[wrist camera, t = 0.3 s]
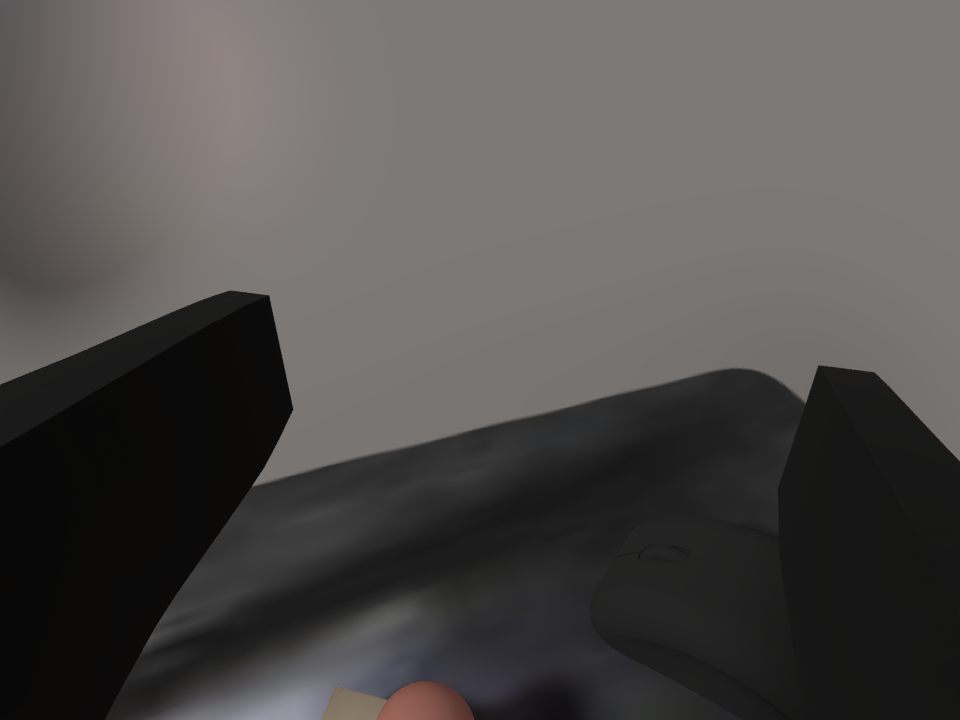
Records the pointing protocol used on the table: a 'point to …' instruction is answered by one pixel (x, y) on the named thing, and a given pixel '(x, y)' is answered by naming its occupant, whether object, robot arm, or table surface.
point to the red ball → (426, 703)
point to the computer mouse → (704, 613)
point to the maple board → (352, 706)
